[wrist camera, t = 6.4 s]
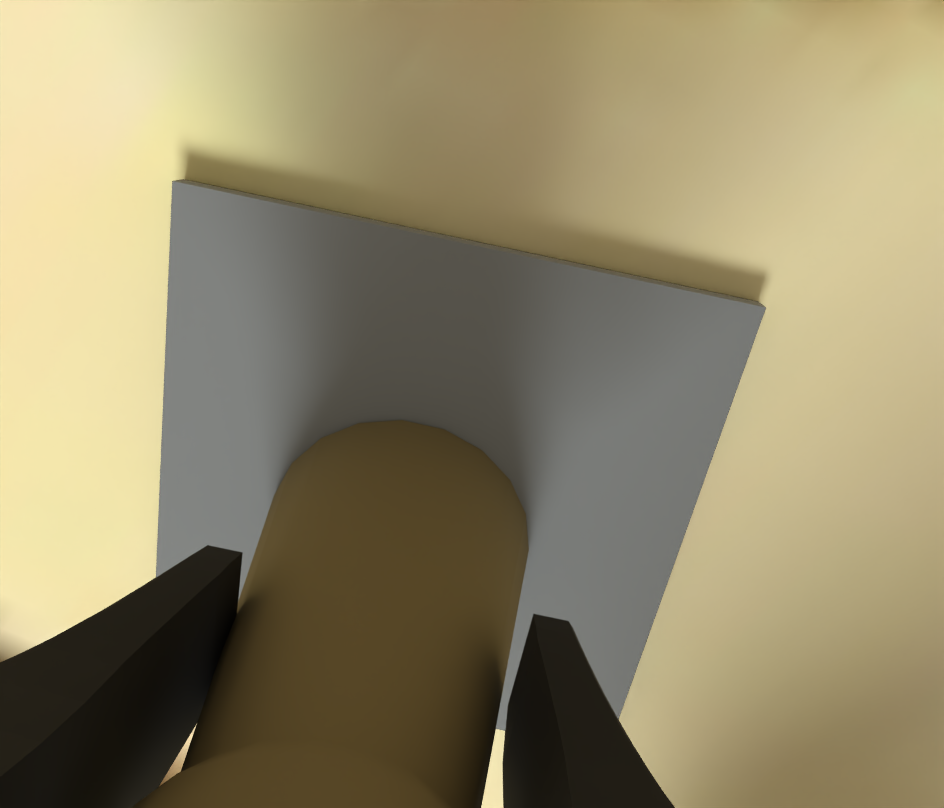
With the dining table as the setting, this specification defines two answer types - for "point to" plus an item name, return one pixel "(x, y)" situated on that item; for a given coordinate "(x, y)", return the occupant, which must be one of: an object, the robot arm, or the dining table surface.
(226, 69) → the dining table surface
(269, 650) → the cork
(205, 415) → the slate mat
